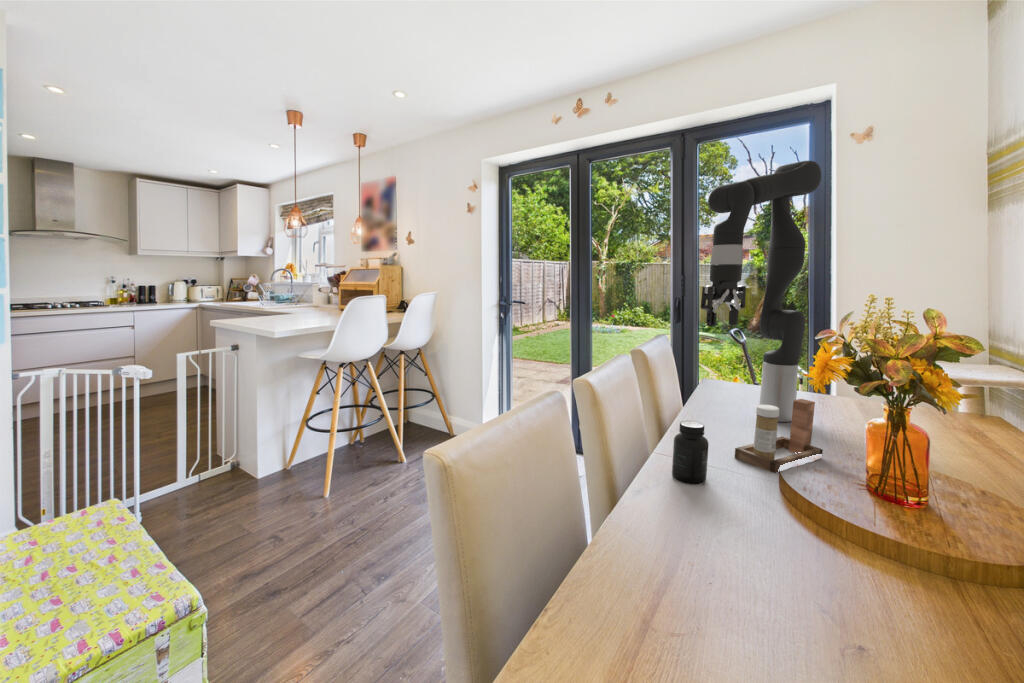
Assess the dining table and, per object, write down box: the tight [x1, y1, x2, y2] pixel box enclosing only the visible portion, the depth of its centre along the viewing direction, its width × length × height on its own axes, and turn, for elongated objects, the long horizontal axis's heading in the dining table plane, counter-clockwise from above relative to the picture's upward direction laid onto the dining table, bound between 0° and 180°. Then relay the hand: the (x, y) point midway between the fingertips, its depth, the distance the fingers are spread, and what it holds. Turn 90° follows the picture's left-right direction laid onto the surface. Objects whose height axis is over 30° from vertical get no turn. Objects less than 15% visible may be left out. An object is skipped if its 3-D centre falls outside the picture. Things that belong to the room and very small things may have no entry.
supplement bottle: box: [671, 420, 710, 486], centre depth 95 cm, size 7×7×12 cm
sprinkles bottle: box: [753, 404, 779, 460], centre depth 103 cm, size 5×5×13 cm
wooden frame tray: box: [734, 398, 824, 474], centre depth 106 cm, size 19×10×13 cm, turn 117°
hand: (722, 325), depth 118 cm, fingers open, 8 cm apart
